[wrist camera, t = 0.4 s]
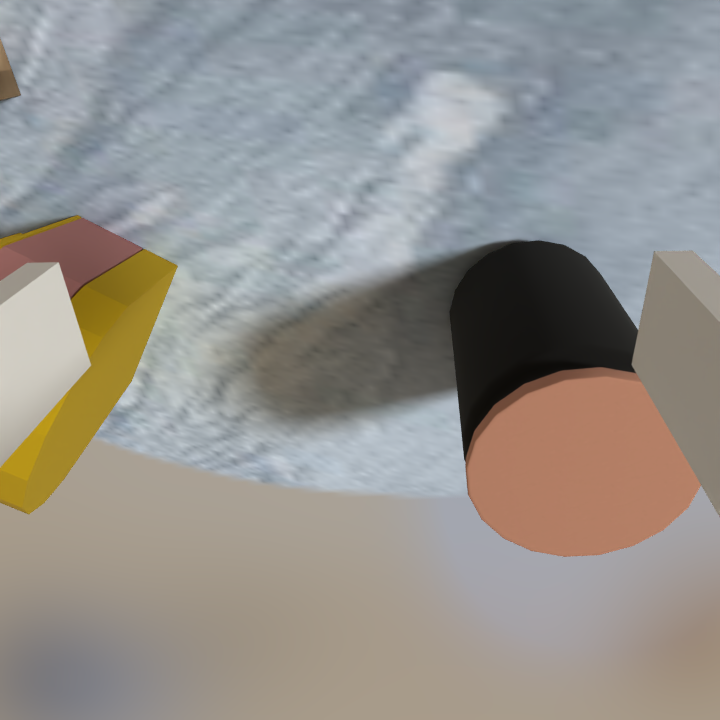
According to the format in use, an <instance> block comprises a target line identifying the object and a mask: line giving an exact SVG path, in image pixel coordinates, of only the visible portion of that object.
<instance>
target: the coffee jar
mask: <svg viewBox="0 0 720 720" xmlns="http://www.w3.org/2000/svg"><path fill="white" fill-rule="evenodd" d="M450 320H451V331H452V341H453V351H454V361H455V371H456V381H457V391H458V401H459V411H460V421H461V431H462V441H463V451H464V460H465V462H466V478H467V488H468V495H469V497H470V499H471V501H472V502H473V504H474V506H475V508H476V510H477V511H478V513H479V515H480V517H481V519H482V520H483V521H484V522H486V523H487V524H488V525H489V526H490V527H491V528H492V529H494V530H495V531H496V532H497V533H498V534H499V535H500V536H502V537H503V538H504V539H506V540H508V541H511V542H513V543H515V544H517V545H520V546H522V547H524V548H526V549H529V550H531V551H535V552H541V553H547V554H552V555H558V556H564V557H567V556H587V555H601V554H604V553H608V552H612V551H616V550H619V549H623V548H627V547H630V546H634V545H635V544H638V543H639V542H641V541H643V540H645V539H647V538H649V537H651V536H653V535H655V534H657V533H658V532H661V531H662V530H664V529H665V528H666V527H667V526H668V525H670V523H672V522H673V521H674V520H675V519H676V518H677V517H678V516H680V514H682V513H683V512H684V511H685V510H686V509H687V508H688V507H689V505H690V503H691V502H692V500H693V498H694V497H695V495H696V493H697V491H698V490H699V488H700V486H701V484H700V482H699V480H698V479H697V477H696V475H695V474H694V472H693V470H692V468H691V467H690V465H689V463H688V461H687V460H686V458H685V456H684V455H683V453H682V451H681V449H680V448H679V446H678V444H677V442H676V441H675V439H674V437H673V436H672V434H671V432H670V430H669V429H668V427H667V425H666V423H665V422H664V420H663V418H662V417H661V415H660V413H659V411H658V410H657V408H656V406H655V404H654V403H653V401H652V399H651V398H650V396H649V394H648V392H647V391H646V389H645V387H644V385H643V384H642V382H641V380H640V379H639V377H638V375H637V373H636V372H635V370H634V368H633V366H632V360H633V355H634V350H635V345H636V340H637V335H638V329H637V328H636V326H635V325H634V323H633V322H632V320H631V319H630V317H629V316H628V314H627V313H626V311H625V310H624V308H623V307H622V305H621V304H620V302H619V301H618V299H617V298H616V296H615V295H614V293H613V292H612V290H611V289H610V287H609V286H608V284H607V283H606V281H605V280H604V278H603V277H602V275H601V274H600V273H599V272H598V271H597V269H596V268H595V267H594V266H593V265H592V264H591V262H590V261H589V260H588V259H587V258H586V257H585V256H583V255H582V254H580V253H578V252H576V251H574V250H572V249H571V248H569V247H567V246H565V245H561V244H556V243H550V242H545V241H539V240H538V241H530V242H522V243H514V244H510V245H508V246H506V247H504V248H501V249H499V250H497V251H494V252H492V253H490V254H488V255H486V256H485V257H484V258H483V259H482V260H480V261H479V262H478V263H477V264H476V265H474V266H473V267H472V268H471V269H470V270H468V272H467V273H466V275H465V276H464V278H463V279H462V281H461V283H460V284H459V286H458V287H457V289H456V290H455V294H454V298H453V301H452V305H451V309H450Z"/></svg>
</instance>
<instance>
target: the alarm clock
mask: <svg viewBox="0 0 720 720" xmlns="http://www.w3.org/2000/svg"><path fill="white" fill-rule="evenodd" d="M142 249H143V248H141V247H139V246H138V245H136V244H134V243H132V242H130V241H128V240H126V239H124V238H122V237H120V236H118V235H116V234H114V233H112V232H110V231H108V230H106V229H104V228H102V227H100V226H98V225H96V224H94V223H92V222H90V221H88V220H86V219H84V218H81V217H80V216H78V215H77V216H74V217H71V218H68V219H65V220H62V221H59V222H56V223H54V224H51V225H48V226H45V227H42V228H39V229H36V230H33V231H30V232H27V233H24V234H22V233H17V234H14V235H11V236H7V237H4V238H1V239H0V281H1V280H3V279H4V278H5V277H7V276H8V275H10V274H11V273H13V272H14V271H16V270H17V269H19V268H20V267H22V266H23V265H25V264H26V263H44V262H59V265H60V268H61V271H62V275H63V278H64V281H65V284H66V287H67V290H68V294H69V297H70V300H71V303H72V306H73V309H74V313H75V316H76V319H77V322H78V325H79V329H80V332H81V335H82V338H83V341H84V344H85V348H86V351H87V354H88V357H89V360H90V363H91V366H90V367H89V368H88V369H87V370H86V372H85V373H84V374H83V375H82V376H81V377H80V378H79V379H78V381H77V382H76V383H75V384H74V385H73V386H72V387H71V388H70V390H69V391H68V392H67V393H66V394H65V395H64V396H63V397H62V399H61V400H60V401H59V402H58V403H57V404H56V405H55V406H54V408H53V409H52V410H51V411H50V412H49V413H48V414H47V415H46V417H45V418H44V419H43V420H42V421H41V422H40V423H39V424H38V426H37V427H36V428H35V429H34V430H33V431H32V432H31V433H30V435H29V436H28V437H27V438H26V439H25V440H24V441H23V442H22V444H21V445H20V446H19V447H18V448H17V449H16V450H15V451H14V453H13V454H12V455H11V456H10V457H9V458H8V459H7V460H6V462H5V463H4V464H3V465H2V466H1V467H0V503H2V504H5V505H7V506H10V507H12V508H15V509H17V510H20V511H22V512H24V513H27V514H30V513H31V512H33V511H34V510H35V509H37V508H38V507H39V506H41V505H42V504H43V503H45V501H46V500H47V499H48V498H49V497H50V495H51V494H52V493H53V492H54V491H55V489H56V488H57V487H58V486H59V485H60V483H61V482H62V481H63V480H64V479H65V477H66V476H67V474H68V473H69V471H70V470H71V468H72V467H73V465H74V464H75V463H76V461H77V460H78V458H79V457H80V455H81V454H82V452H83V451H84V449H85V448H86V447H87V445H88V444H89V442H90V441H91V439H92V438H93V436H94V435H95V434H96V432H97V431H98V429H99V428H100V426H101V425H102V423H103V422H104V420H105V419H106V418H107V416H108V415H109V413H110V412H111V410H112V409H113V407H114V406H115V404H116V403H117V402H118V400H119V399H120V397H121V396H122V394H123V393H124V391H125V390H126V388H127V387H128V386H129V384H130V383H131V381H132V379H133V376H134V374H135V371H136V369H137V366H138V364H139V361H140V359H141V356H142V354H143V351H144V349H145V346H146V344H147V341H148V339H149V336H150V334H151V331H152V329H153V326H154V324H155V321H156V319H157V316H158V314H159V311H160V309H161V307H162V304H163V302H164V299H165V297H166V294H167V292H168V289H169V287H170V284H171V282H172V279H173V277H174V274H175V272H176V269H177V267H178V266H177V265H175V264H173V263H171V262H169V261H167V260H165V259H163V258H161V257H159V256H157V255H155V254H153V253H151V252H149V251H147V250H145V249H144V250H142Z"/></svg>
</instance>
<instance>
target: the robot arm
mask: <svg viewBox="0 0 720 720" xmlns="http://www.w3.org/2000/svg"><path fill="white" fill-rule="evenodd" d="M90 366H91V363H90V360H89V357H88V354H87V351H86V348H85V344H84V341H83V338H82V335H81V332H80V329H79V325H78V322H77V319H76V316H75V313H74V309H73V306H72V303H71V300H70V297H69V294H68V290H67V287H66V284H65V281H64V278H63V275H62V271H61V268H60V265H59V262H44V263H26V264H25V265H23V266H22V267H20V268H19V269H17V270H16V271H14V272H13V273H11V274H10V275H8V276H7V277H5V278H4V279H3V280H1V281H0V467H1V466H2V465H3V464H4V463H5V462H6V460H7V459H8V458H9V457H10V456H11V455H12V454H13V453H14V451H15V450H16V449H17V448H18V447H19V446H20V445H21V444H22V442H23V441H24V440H25V439H26V438H27V437H28V436H29V435H30V433H31V432H32V431H33V430H34V429H35V428H36V427H37V426H38V424H39V423H40V422H41V421H42V420H43V419H44V418H45V417H46V415H47V414H48V413H49V412H50V411H51V410H52V409H53V408H54V406H55V405H56V404H57V403H58V402H59V401H60V400H61V399H62V397H63V396H64V395H65V394H66V393H67V392H68V391H69V390H70V388H71V387H72V386H73V385H74V384H75V383H76V382H77V381H78V379H79V378H80V377H81V376H82V375H83V374H84V373H85V372H86V370H87V369H88V368H89V367H90ZM632 366H633V368H634V370H635V372H636V373H637V375H638V377H639V379H640V380H641V382H642V384H643V385H644V387H645V389H646V391H647V392H648V394H649V396H650V398H651V399H652V401H653V403H654V404H655V406H656V408H657V410H658V411H659V413H660V415H661V417H662V418H663V420H664V422H665V423H666V425H667V427H668V429H669V430H670V432H671V434H672V436H673V437H674V439H675V441H676V442H677V444H678V446H679V448H680V449H681V451H682V453H683V455H684V456H685V458H686V460H687V461H688V463H689V465H690V467H691V468H692V470H693V472H694V474H695V475H696V477H697V479H698V480H699V482H700V484H701V486H702V487H703V489H704V491H705V493H706V494H707V496H708V498H709V499H710V501H711V503H712V505H713V506H714V508H715V510H716V511H717V513H718V514H719V517H720V276H719V275H718V274H717V273H716V272H715V271H714V270H713V269H712V268H711V267H710V266H709V265H707V264H706V263H705V262H704V261H703V260H702V259H701V258H700V257H699V256H698V255H697V254H696V253H694V252H693V251H654V255H653V260H652V265H651V270H650V275H649V280H648V285H647V290H646V295H645V300H644V305H643V310H642V315H641V320H640V325H639V330H638V335H637V340H636V345H635V350H634V355H633V360H632Z"/></svg>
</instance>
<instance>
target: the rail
mask: <svg viewBox="0 0 720 720" xmlns="http://www.w3.org/2000/svg"><path fill="white" fill-rule="evenodd" d="M20 95H21V94H20V91H19V88H18V86H17V83H16V80H15V78H14V75H13V72H12V69H11V67H10V64H9V61H8V58H7V56H6V53H5V50H4V47H3V45H2V42H1V39H0V100H3V99H7V98H11V97H16V96H20Z"/></svg>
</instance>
